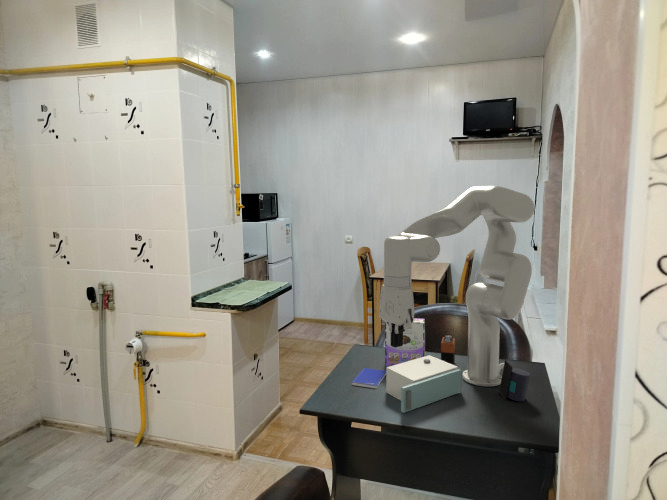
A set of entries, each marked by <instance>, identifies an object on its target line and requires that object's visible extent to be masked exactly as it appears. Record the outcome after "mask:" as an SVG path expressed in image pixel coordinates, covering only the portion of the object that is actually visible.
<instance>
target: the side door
mask: <svg viewBox="0 0 667 500" xmlns="http://www.w3.org/2000/svg"><path fill="white" fill-rule="evenodd" d="M462 374H463V368H458V369H457V370H454V371H450V372H447V373H444V374H441V375H438V376H435V377H432V378H429V379H425V380H422V381H419V382H416V383H413V384H410V385H407V386H404V387H401V400H400V412H401V413H403V414H404V413H406V412H407V413H408V412H410V411H412V410H416V409H418V408H421V407H424V406H427V405H429V404H431V403H434V402H437V401H440V400H443V399H446V398H448V397H451V396H454V395H457V394H460V393H462V390H463V389H462V386H463V385H462V384H463V382H462V381H463V377H462Z"/></svg>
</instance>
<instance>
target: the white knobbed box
mask: <svg viewBox="0 0 667 500" xmlns="http://www.w3.org/2000/svg"><path fill="white" fill-rule="evenodd" d="M385 368H386V370H385V371H386V375H385V376H386V381H385V383H386V388H385V390H386V393H387V394H389V395H390V396H392V397H394V398H395V399H397V400H399V401H401V387H404V386H407V385H410V384H413V383H416V382H419V381H422V380H425V379H429V378H432V377H435V376H438V375H441V374H444V373H447V372H450V371H454V370H457V369H459V367H458V366H457V365H455V364H454V365H452V364H450V363H447V362H445V361H442V360H441V358H437V357H435V356H432V355H430V354H429V355H426V356H425V357H421V358H418V359H414V360H411V361H407V362H404V363H400V364H397V365H393V366H385Z"/></svg>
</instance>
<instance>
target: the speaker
mask: <svg viewBox="0 0 667 500" xmlns="http://www.w3.org/2000/svg"><path fill="white" fill-rule="evenodd" d="M503 363H504V368H503V369H502V373H501V375H502V379H501V384H500V385H499V388H498V393H499V394H500V396H501V397H502V398H503V400H504V401H506V400H507V398H508V399H510V400H512V401H516V402H520V403H521V402H525V401H526V397H527V393H528V387H529V381H530V378H531V373H530V372H529V371H527V370H524V369H522V368H517V367H513V366H512V364H511V363H510V362H508V359H505V360H504V362H503Z"/></svg>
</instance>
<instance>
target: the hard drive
mask: <svg viewBox="0 0 667 500" xmlns="http://www.w3.org/2000/svg"><path fill="white" fill-rule="evenodd" d="M385 376H386V370H381V369H376V368H375V369H373V368H365V367H363V369H362V370H361V371H360V372H359V373H358V374H357V376H355V378H354V379H353V380H352V381H351V385H352V386H356V387H357V386H358V387H364V388H370V389H378V387H379V385H380V384H381V382H382V381H383V380H384V378H385Z"/></svg>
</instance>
